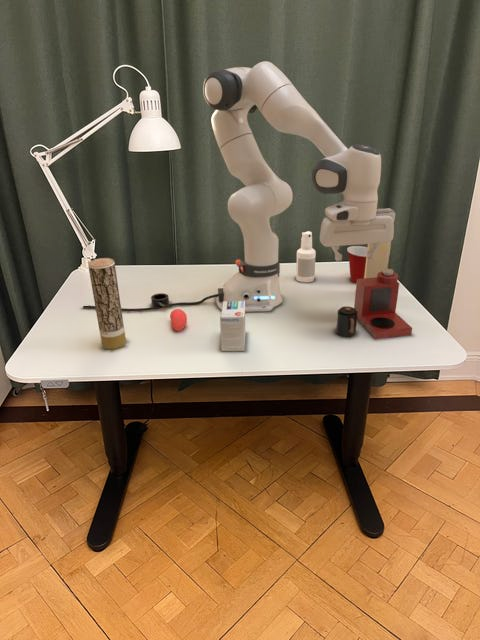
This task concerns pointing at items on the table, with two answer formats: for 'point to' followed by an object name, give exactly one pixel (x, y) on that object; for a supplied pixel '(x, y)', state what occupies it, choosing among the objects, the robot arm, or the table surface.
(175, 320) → the red bean-shaped piece
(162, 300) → the duct tape
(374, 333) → the warming base
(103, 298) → the paper tube
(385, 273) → the power button
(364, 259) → the plastic cup
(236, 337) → the light bulb box
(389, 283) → the coffee maker
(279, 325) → the table surface
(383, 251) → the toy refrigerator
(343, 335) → the kettle
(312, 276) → the spray bottle
